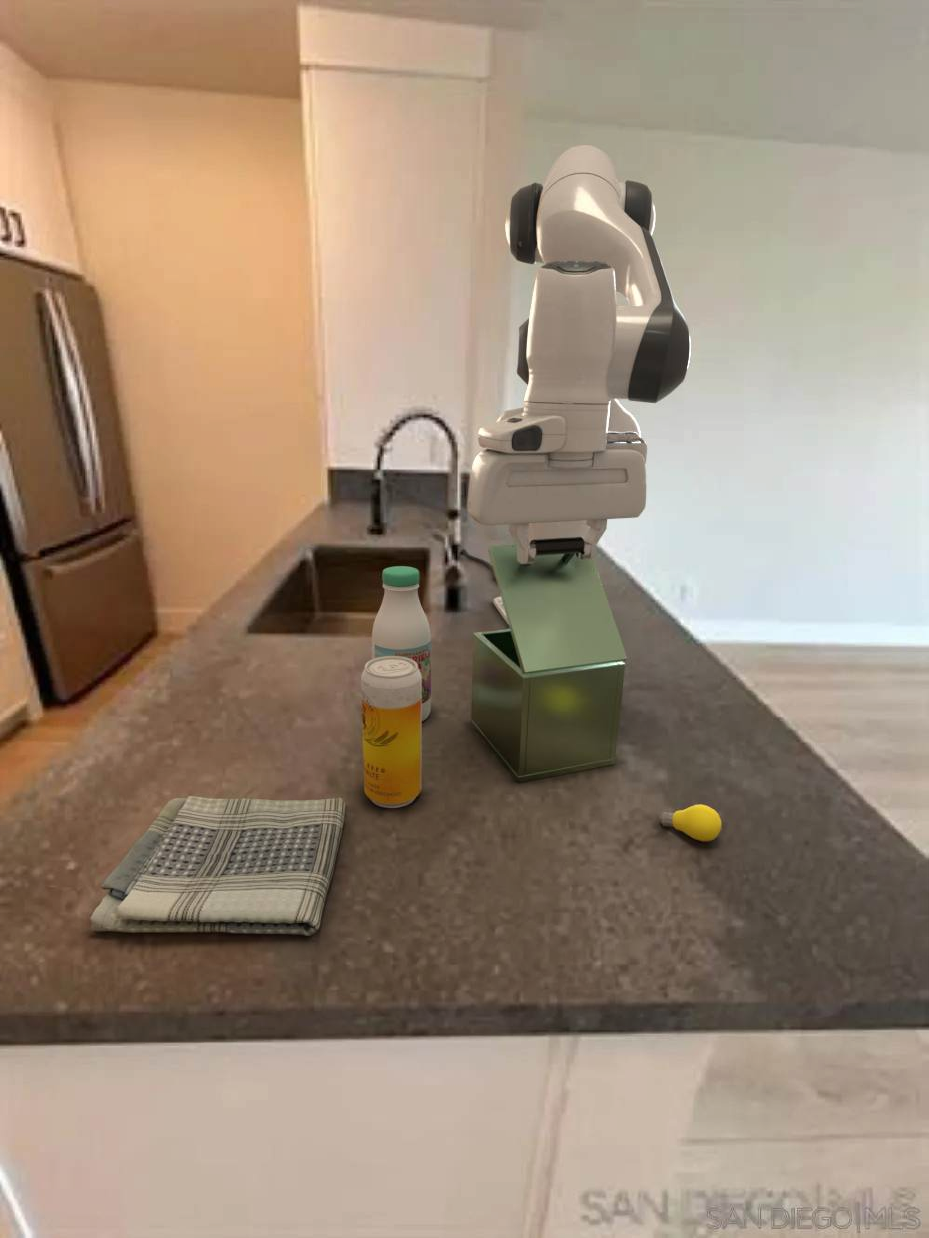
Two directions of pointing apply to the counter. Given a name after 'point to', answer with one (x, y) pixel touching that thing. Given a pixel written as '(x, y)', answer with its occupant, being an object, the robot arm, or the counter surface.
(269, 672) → the counter surface
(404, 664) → the beer can
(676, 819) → the light bulb
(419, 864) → the counter surface
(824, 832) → the counter surface
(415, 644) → the milk bottle
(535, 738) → the olive green box
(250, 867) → the dish towel
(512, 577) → the green panel
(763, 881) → the counter surface
